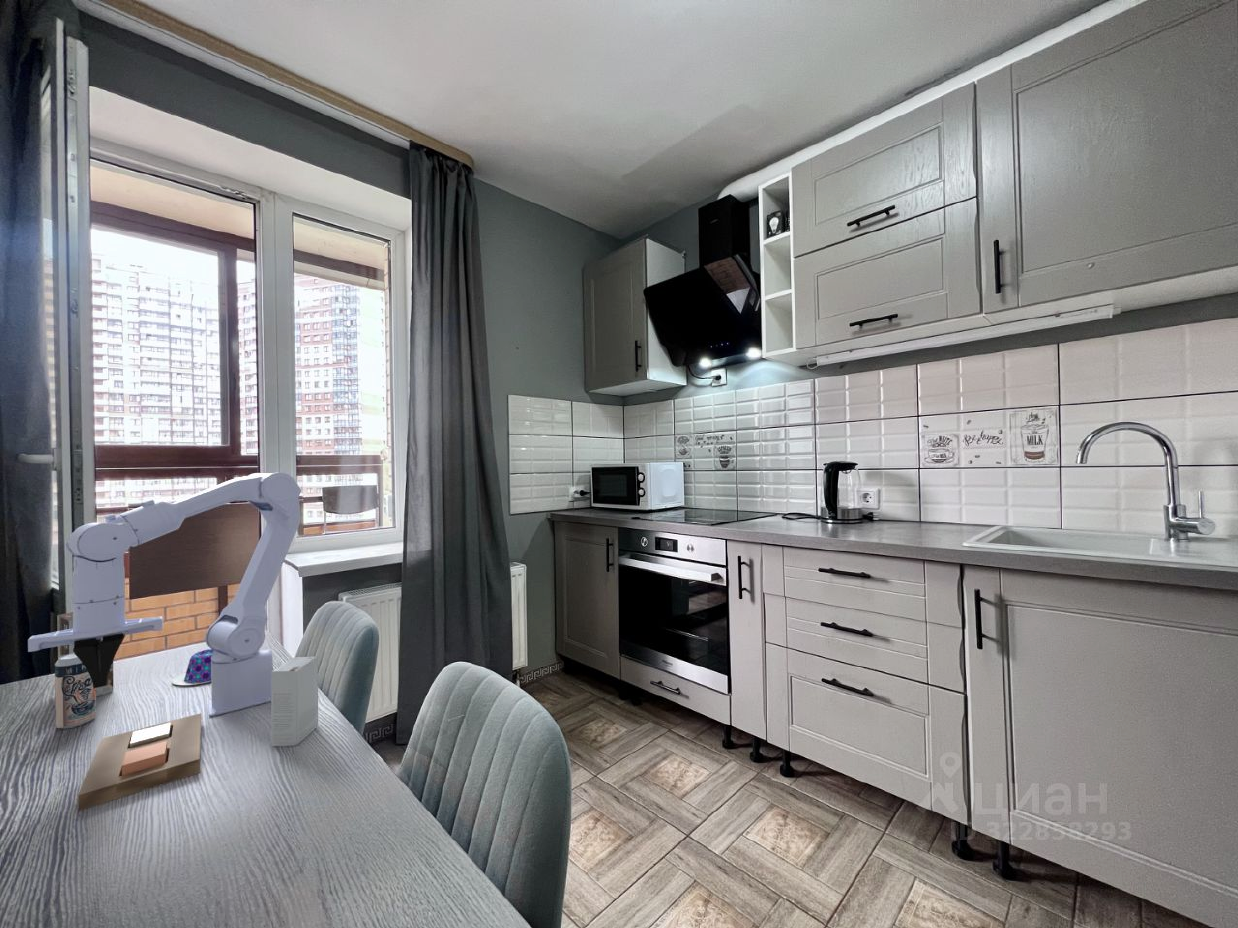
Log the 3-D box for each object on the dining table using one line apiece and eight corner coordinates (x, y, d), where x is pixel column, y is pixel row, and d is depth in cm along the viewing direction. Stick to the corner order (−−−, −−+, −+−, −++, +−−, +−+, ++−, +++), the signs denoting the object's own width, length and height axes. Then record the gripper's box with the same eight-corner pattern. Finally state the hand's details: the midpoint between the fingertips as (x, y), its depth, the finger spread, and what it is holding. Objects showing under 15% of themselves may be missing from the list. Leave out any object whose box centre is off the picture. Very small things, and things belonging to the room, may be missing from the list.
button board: (201, 724, 85) (201, 713, 85) (199, 772, 72) (199, 758, 72) (101, 751, 78) (101, 738, 78) (78, 810, 64) (77, 795, 64)
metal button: (170, 737, 81) (170, 722, 81) (169, 748, 78) (169, 732, 78) (133, 747, 78) (133, 731, 78) (130, 759, 75) (129, 743, 75)
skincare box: (293, 727, 84) (292, 656, 84) (320, 726, 84) (319, 655, 84) (269, 748, 78) (268, 671, 78) (298, 746, 78) (297, 669, 78)
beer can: (68, 731, 84) (67, 661, 84) (47, 729, 85) (47, 659, 85) (103, 717, 89) (102, 650, 89) (83, 715, 90) (82, 649, 90)
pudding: (195, 692, 99) (194, 665, 99) (158, 684, 103) (157, 659, 103) (256, 668, 111) (256, 645, 111) (221, 662, 115) (220, 640, 115)
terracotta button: (167, 757, 74) (167, 740, 74) (165, 770, 71) (164, 753, 71) (126, 769, 72) (125, 751, 72) (122, 783, 68) (121, 765, 68)
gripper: (163, 586, 86) (164, 665, 86) (36, 602, 76) (37, 690, 76) (160, 594, 80) (161, 677, 80) (23, 612, 71) (24, 706, 71)
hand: (100, 685), depth 78 cm, fingers closed
